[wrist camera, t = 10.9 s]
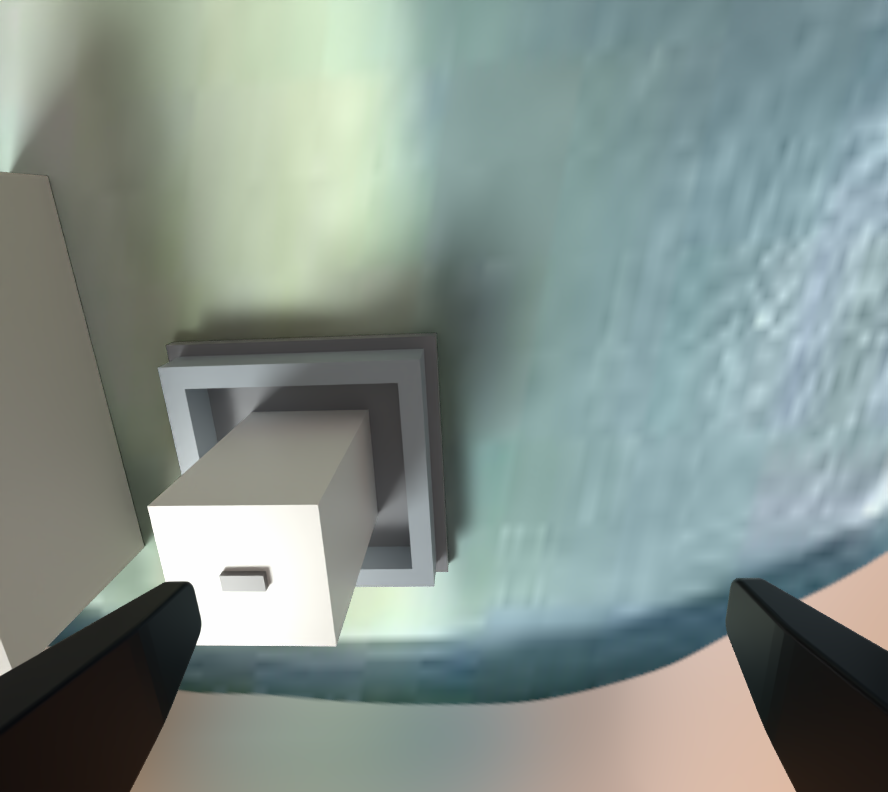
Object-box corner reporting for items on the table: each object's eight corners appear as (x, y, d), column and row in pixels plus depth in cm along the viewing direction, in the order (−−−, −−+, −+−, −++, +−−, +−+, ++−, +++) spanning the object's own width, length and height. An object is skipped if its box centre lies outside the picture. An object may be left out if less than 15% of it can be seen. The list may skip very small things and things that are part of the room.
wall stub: (47, 175, 19) (-186, 156, 12) (144, 547, 24) (15, 678, 17) (6, 177, 19) (-247, 159, 12) (111, 547, 24) (-30, 678, 17)
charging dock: (436, 332, 20) (432, 345, 18) (448, 564, 23) (446, 595, 21) (172, 342, 20) (142, 355, 19) (219, 566, 24) (197, 596, 22)
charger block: (368, 409, 20) (316, 508, 14) (378, 514, 22) (334, 651, 15) (252, 411, 21) (142, 510, 14) (268, 515, 22) (177, 650, 15)
